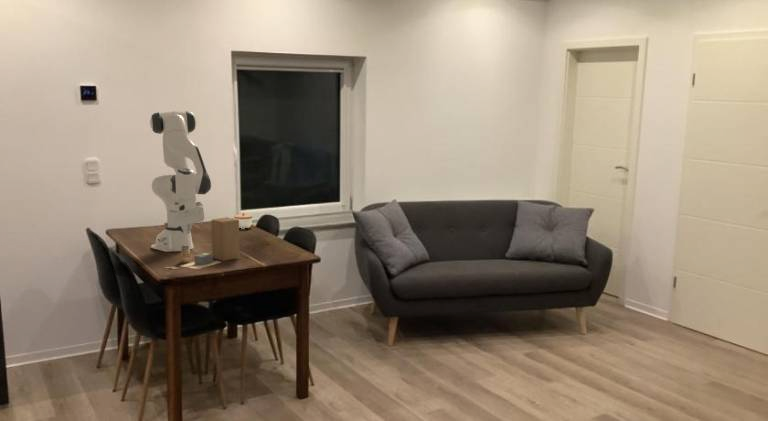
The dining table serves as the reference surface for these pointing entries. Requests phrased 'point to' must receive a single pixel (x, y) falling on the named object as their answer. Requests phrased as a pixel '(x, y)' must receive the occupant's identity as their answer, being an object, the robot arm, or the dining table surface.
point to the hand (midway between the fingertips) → (186, 233)
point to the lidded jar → (244, 220)
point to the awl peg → (185, 254)
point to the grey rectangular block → (203, 259)
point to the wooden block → (225, 238)
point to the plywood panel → (196, 266)
